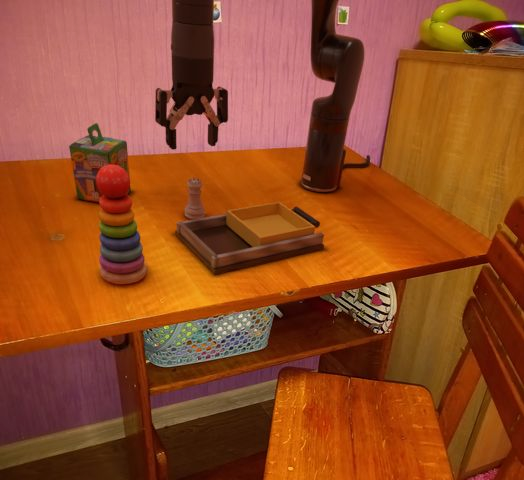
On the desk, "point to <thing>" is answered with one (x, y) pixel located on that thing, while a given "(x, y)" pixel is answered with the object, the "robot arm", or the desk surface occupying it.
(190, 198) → the rook chess piece
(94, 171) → the chalk box
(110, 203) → the stacking toy
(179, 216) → the desk surface
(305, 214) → the tray
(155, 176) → the desk surface
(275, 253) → the base
